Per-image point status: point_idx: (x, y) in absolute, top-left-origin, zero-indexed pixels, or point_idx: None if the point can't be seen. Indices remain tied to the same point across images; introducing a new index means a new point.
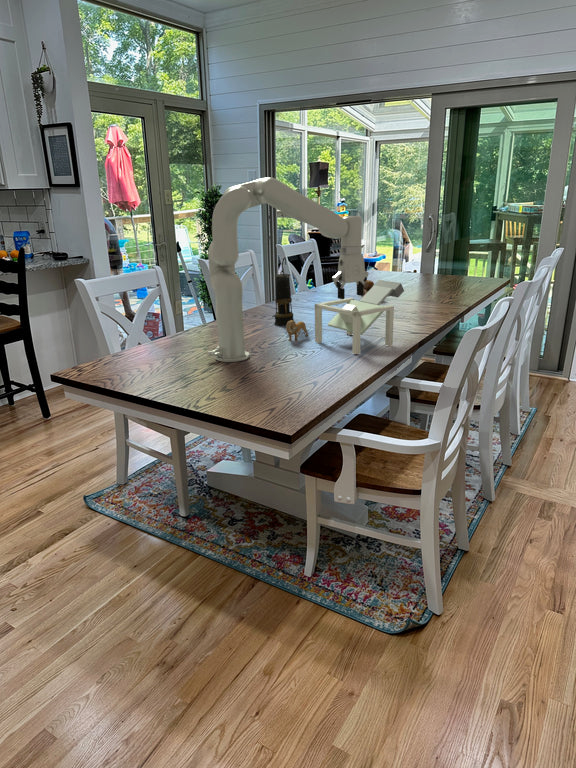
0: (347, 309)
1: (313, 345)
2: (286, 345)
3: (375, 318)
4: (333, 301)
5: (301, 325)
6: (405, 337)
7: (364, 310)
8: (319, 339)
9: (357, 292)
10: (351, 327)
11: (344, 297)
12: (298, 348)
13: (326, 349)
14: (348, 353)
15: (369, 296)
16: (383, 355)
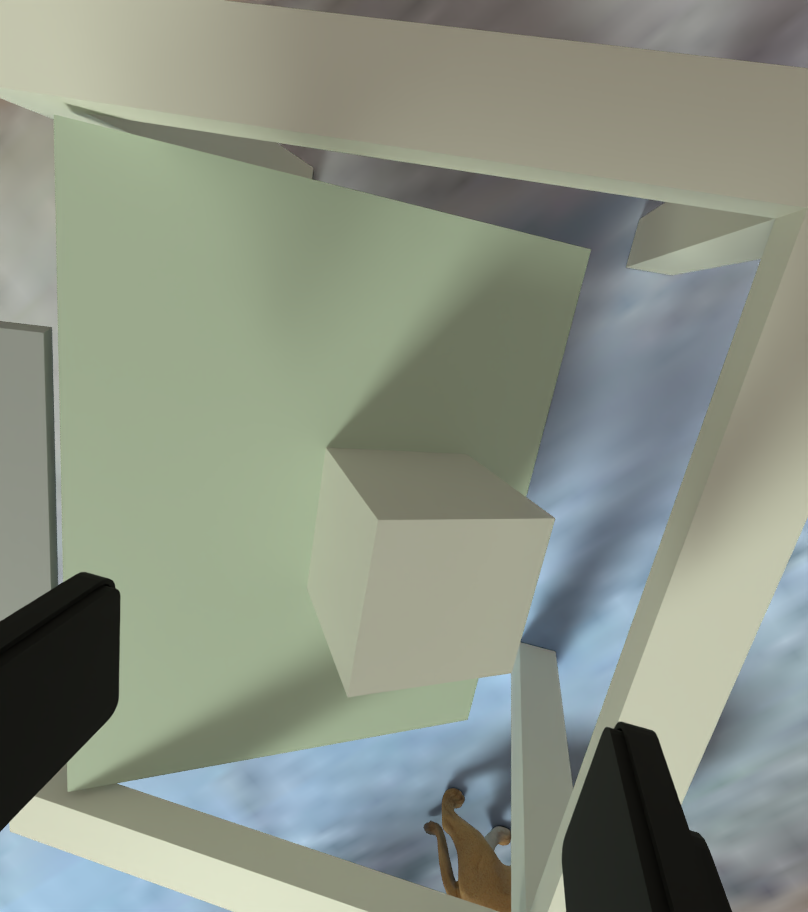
0: (459, 597)
1: (620, 651)
2: (727, 795)
3: (338, 187)
4: (303, 908)
5: (506, 889)
6: (38, 234)
7: (601, 165)
8: (545, 665)
9: (84, 725)
10: (510, 434)
11: (613, 742)
12: (753, 695)
13: (663, 520)
14: (671, 314)
15: None
16: (559, 22)
